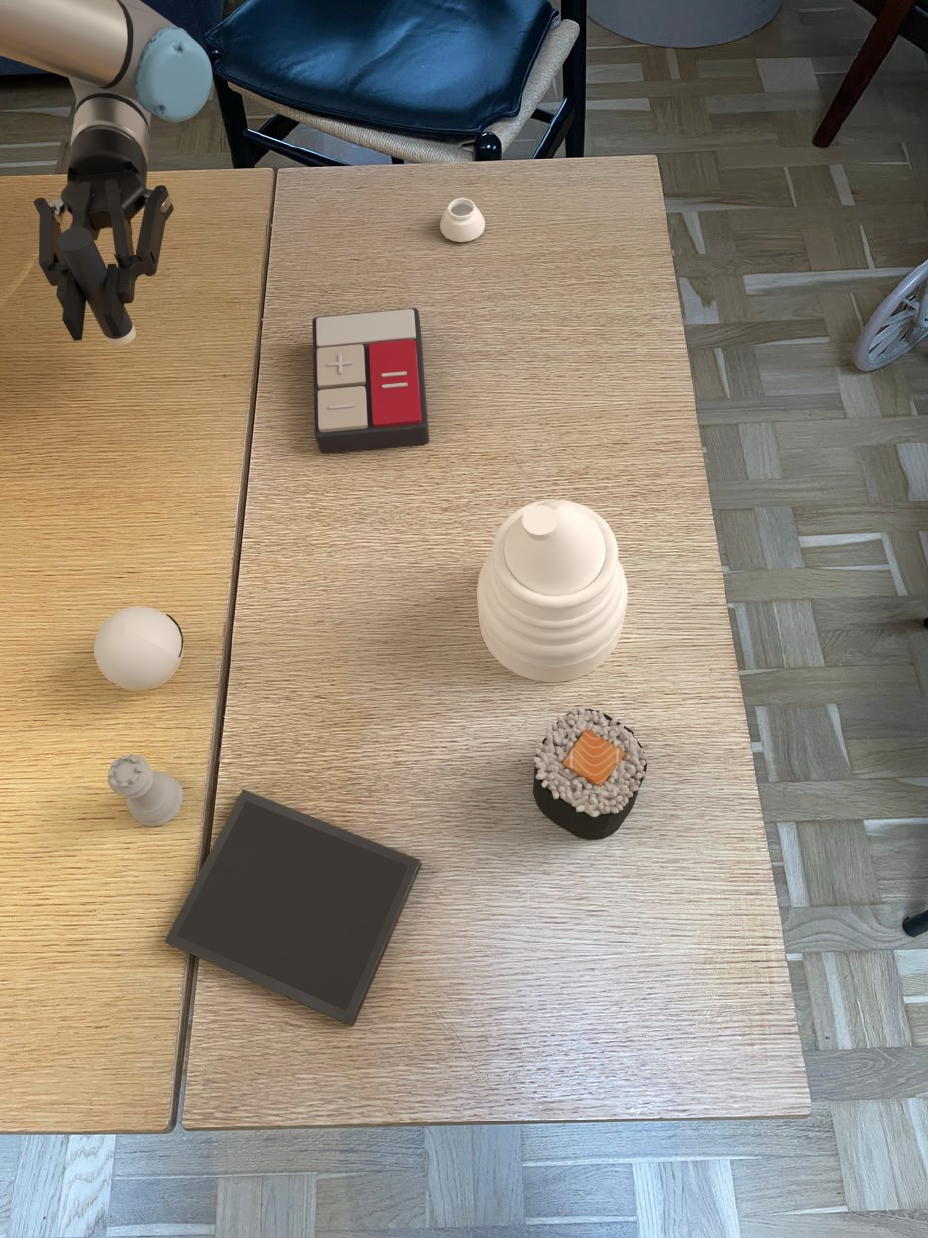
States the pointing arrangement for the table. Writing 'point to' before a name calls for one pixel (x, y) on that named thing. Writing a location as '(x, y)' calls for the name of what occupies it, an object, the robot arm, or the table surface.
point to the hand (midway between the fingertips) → (92, 327)
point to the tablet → (295, 906)
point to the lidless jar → (462, 221)
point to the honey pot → (552, 592)
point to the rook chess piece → (145, 790)
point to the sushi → (588, 773)
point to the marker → (92, 279)
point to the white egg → (139, 648)
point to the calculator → (369, 381)
